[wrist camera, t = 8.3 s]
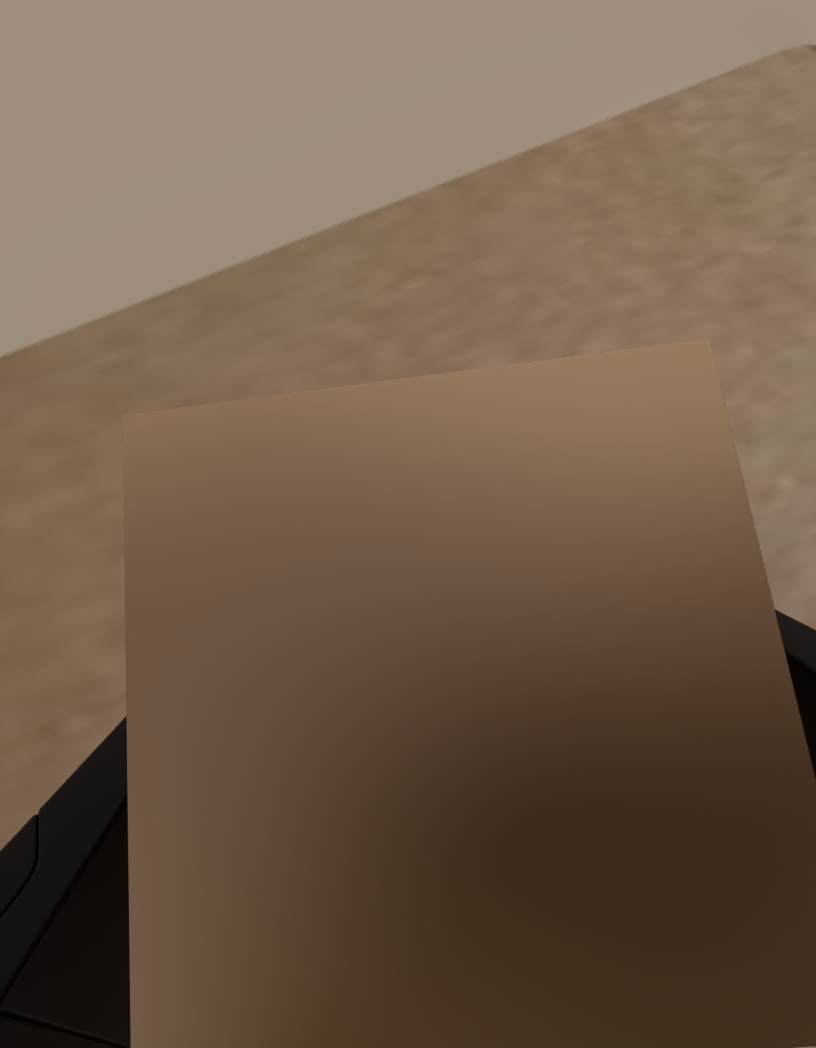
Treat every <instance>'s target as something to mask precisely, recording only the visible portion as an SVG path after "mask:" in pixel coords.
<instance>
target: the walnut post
mask: <svg viewBox="0 0 816 1048" xmlns="http://www.w3.org/2000/svg"><path fill="white" fill-rule="evenodd" d="M123 466H124V546H125V626H126V706H127V787H128V867H129V947H130V1027H131V1048H794V1047H807V1046H816V779H815V775H814V771H813V767H812V763H811V759H810V755H809V750H808V746H807V742H806V738H805V734H804V730H803V725H802V721H801V717H800V713H799V709H798V705H797V701H796V696H795V692H794V688H793V684H792V680H791V676H790V672H789V667H788V663H787V659H786V655H785V651H784V647H783V642H782V638H781V634H780V630H779V626H778V622H777V618H776V613H775V609H774V605H773V601H772V597H771V593H770V589H769V584H768V580H767V576H766V572H765V568H764V564H763V559H762V555H761V551H760V547H759V543H758V539H757V535H756V530H755V526H754V522H753V518H752V514H751V510H750V506H749V501H748V497H747V493H746V489H745V485H744V481H743V476H742V472H741V468H740V464H739V460H738V456H737V452H736V447H735V443H734V439H733V435H732V431H731V427H730V423H729V418H728V414H727V410H726V406H725V402H724V398H723V393H722V389H721V385H720V381H719V377H718V373H717V369H716V364H715V360H714V356H713V352H712V348H711V344H710V340H709V338H708V339H700V340H693V341H685V342H677V343H670V344H662V345H654V346H647V347H639V348H631V349H624V350H616V351H609V352H601V353H593V354H586V355H578V356H570V357H563V358H555V359H548V360H540V361H532V362H525V363H517V364H509V365H502V366H494V367H486V368H479V369H471V370H464V371H456V372H448V373H441V374H433V375H425V376H418V377H410V378H402V379H395V380H387V381H380V382H372V383H364V384H357V385H349V386H341V387H334V388H326V389H318V390H311V391H303V392H296V393H288V394H280V395H273V396H265V397H257V398H250V399H242V400H234V401H227V402H219V403H212V404H204V405H196V406H189V407H181V408H173V409H166V410H158V411H151V412H143V413H135V414H128V415H123Z"/></svg>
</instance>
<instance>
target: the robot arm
mask: <svg viewBox="0 0 816 1048" xmlns="http://www.w3.org/2000/svg"><path fill="white" fill-rule="evenodd" d="M775 613H776V618H777V622H778V626H779V630H780V634H781V638H782V642H783V647H784V651H785V655H786V659H787V663H788V667H789V672H790V676H791V680H792V684H793V688H794V692H795V696H796V701H797V705H798V709H799V713H800V717H801V721H802V725H803V730H804V734H805V738H806V742H807V746H808V750H809V755H810V759H811V763H812V767H813V771H814V775H815V779H816V630H814V629H812V628H810V627H808V626H806V625H804V624H802V623H801V622H799V621H797V620H795V619H793V618H791V617H789V616H787V615H785V614H783V613H781V612H779V611H777V610H775ZM0 1048H131V1027H130V947H129V867H128V787H127V716H126V717H125V718H124V719H123V720H122V721H121V722H120V723H119V725H118V726H117V727H116V728H115V729H114V730H113V731H112V732H111V733H110V734H109V735H108V736H107V737H106V738H105V740H104V741H103V742H102V743H101V744H100V745H99V746H98V747H97V748H96V749H95V750H94V751H93V752H92V754H91V755H90V756H89V757H88V758H87V759H86V760H85V761H84V762H83V763H82V764H81V765H80V766H79V767H78V769H77V770H76V771H75V772H74V773H73V774H72V775H71V776H70V777H69V778H68V779H67V780H66V781H65V783H64V784H63V785H62V786H61V787H60V788H59V789H58V790H57V791H56V792H55V793H54V794H53V795H52V797H51V798H50V799H49V800H48V801H47V802H46V803H45V804H44V805H43V806H42V807H41V808H40V810H39V813H38V814H37V815H34V816H33V817H32V818H31V819H30V820H29V821H28V822H27V823H26V824H25V825H24V826H23V827H22V829H21V830H20V831H19V832H18V833H17V834H16V835H15V836H14V837H13V838H12V839H11V840H10V841H9V842H8V843H7V844H6V846H5V847H4V848H3V849H2V850H1V851H0Z"/></svg>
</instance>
